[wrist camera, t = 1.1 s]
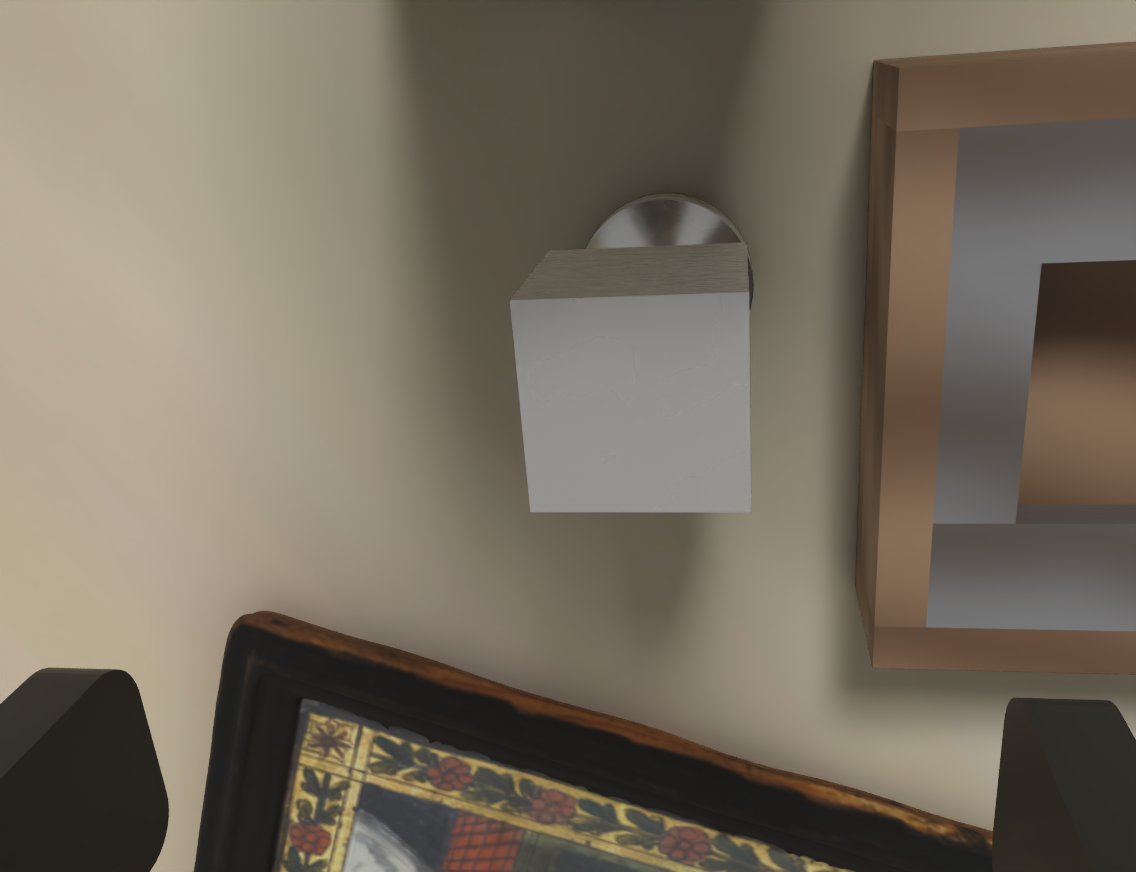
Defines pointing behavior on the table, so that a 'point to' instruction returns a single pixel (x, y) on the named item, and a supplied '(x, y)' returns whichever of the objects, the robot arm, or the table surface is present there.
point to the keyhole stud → (639, 365)
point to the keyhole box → (1001, 363)
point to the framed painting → (505, 780)
